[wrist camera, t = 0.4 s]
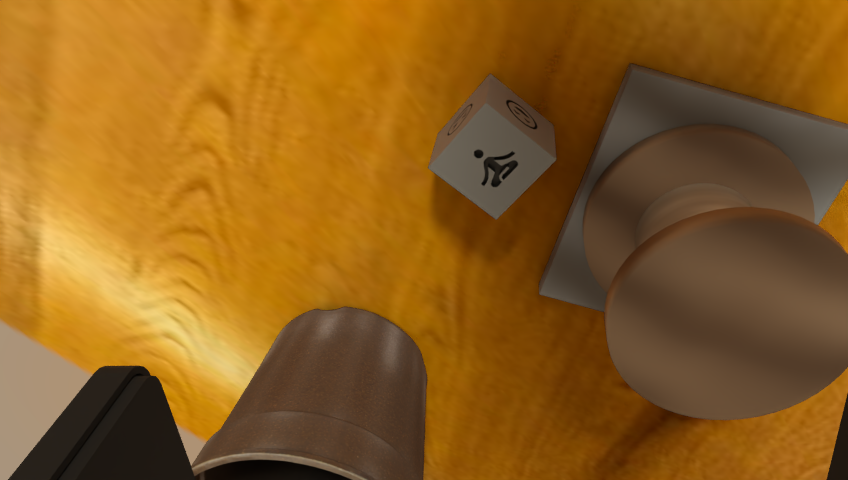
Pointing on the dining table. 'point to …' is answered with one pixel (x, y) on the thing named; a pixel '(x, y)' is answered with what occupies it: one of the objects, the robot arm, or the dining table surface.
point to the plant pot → (327, 406)
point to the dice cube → (494, 147)
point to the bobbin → (710, 248)
